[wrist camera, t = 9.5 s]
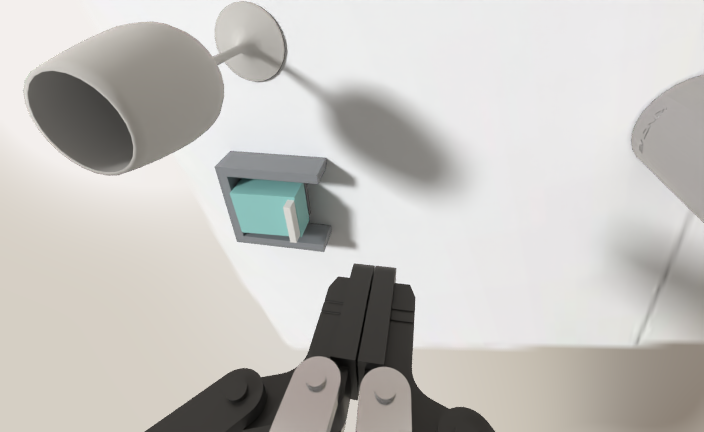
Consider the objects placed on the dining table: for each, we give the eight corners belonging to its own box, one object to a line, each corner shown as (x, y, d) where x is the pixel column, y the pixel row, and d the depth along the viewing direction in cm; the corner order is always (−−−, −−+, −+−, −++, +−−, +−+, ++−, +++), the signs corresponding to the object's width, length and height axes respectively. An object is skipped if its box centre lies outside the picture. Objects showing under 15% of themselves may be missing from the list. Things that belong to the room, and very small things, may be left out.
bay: (325, 157, 40) (317, 174, 37) (331, 232, 47) (324, 251, 44) (230, 151, 42) (214, 166, 39) (249, 223, 49) (237, 241, 46)
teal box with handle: (306, 175, 42) (290, 204, 37) (312, 213, 46) (297, 245, 41) (247, 172, 44) (223, 200, 39) (257, 209, 47) (236, 239, 42)
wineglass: (269, -12, 31) (84, 26, 14) (297, 74, 35) (179, 180, 18) (200, 10, 33) (-29, 65, 16) (234, 89, 37) (80, 195, 21)
